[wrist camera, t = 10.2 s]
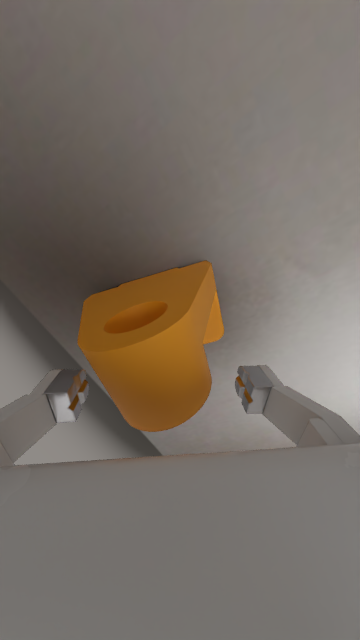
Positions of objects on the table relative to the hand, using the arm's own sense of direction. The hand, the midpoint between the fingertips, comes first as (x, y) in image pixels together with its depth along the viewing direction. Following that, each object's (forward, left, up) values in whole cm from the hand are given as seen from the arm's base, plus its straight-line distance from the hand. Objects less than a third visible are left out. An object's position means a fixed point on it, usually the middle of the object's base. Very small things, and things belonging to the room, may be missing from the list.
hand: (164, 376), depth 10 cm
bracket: (0, 0, -10) cm, 10 cm away
